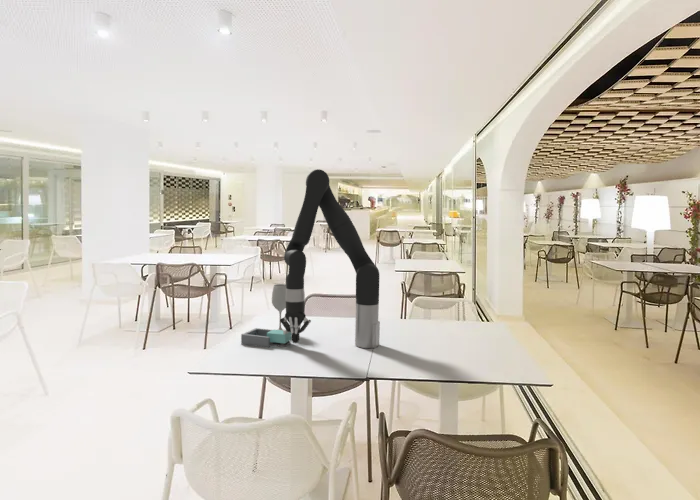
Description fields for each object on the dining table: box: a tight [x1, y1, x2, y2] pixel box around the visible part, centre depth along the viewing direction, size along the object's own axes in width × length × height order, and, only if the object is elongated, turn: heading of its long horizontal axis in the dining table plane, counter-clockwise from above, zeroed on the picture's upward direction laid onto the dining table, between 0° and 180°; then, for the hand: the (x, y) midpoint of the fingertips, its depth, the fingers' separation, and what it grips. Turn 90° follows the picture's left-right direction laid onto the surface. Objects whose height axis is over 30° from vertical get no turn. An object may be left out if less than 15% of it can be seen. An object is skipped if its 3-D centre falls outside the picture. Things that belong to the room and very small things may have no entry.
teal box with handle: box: [267, 328, 292, 348], centre depth 195 cm, size 8×6×6 cm
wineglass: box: [271, 283, 286, 330], centre depth 214 cm, size 8×8×21 cm
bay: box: [240, 327, 273, 348], centre depth 198 cm, size 12×12×4 cm
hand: (295, 342), depth 193 cm, fingers closed
